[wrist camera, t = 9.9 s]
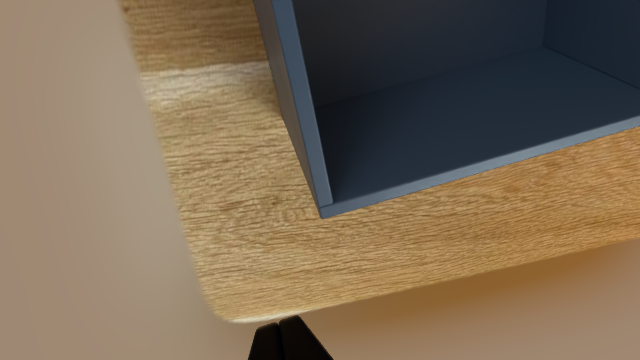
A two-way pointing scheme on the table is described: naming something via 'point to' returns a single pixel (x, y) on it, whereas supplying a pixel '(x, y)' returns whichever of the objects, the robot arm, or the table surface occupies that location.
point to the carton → (444, 86)
